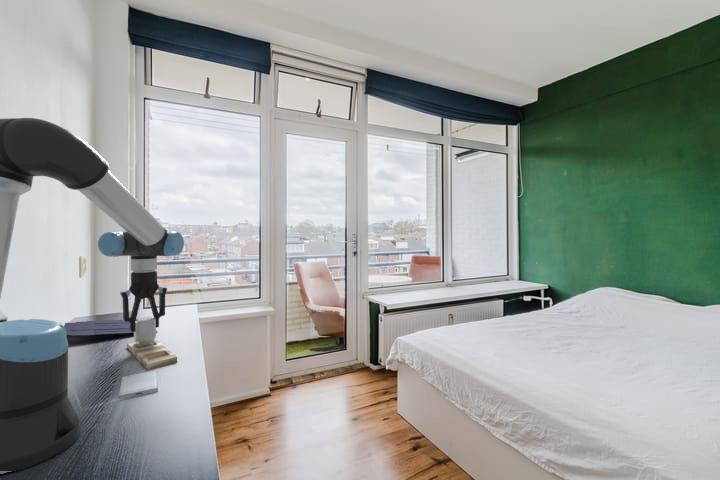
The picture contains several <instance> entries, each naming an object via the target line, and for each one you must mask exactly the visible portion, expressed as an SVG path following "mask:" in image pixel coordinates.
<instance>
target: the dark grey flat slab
mask: <svg viewBox="0 0 720 480" xmlns="http://www.w3.org/2000/svg"><path fill="white" fill-rule="evenodd" d="M63 326H64V327H65V329H66V336H71V337H72V336H93V335H94V336H95V335H96V336H97V335H109V334H110V335H111V334H129V333H130V334H131V333H133V334H134V332H131V330H130V322H126V321H124V320H123V319H105V320H104V319H103V320H99V319H98V320H86V321H76V322H64V325H63Z"/></svg>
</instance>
